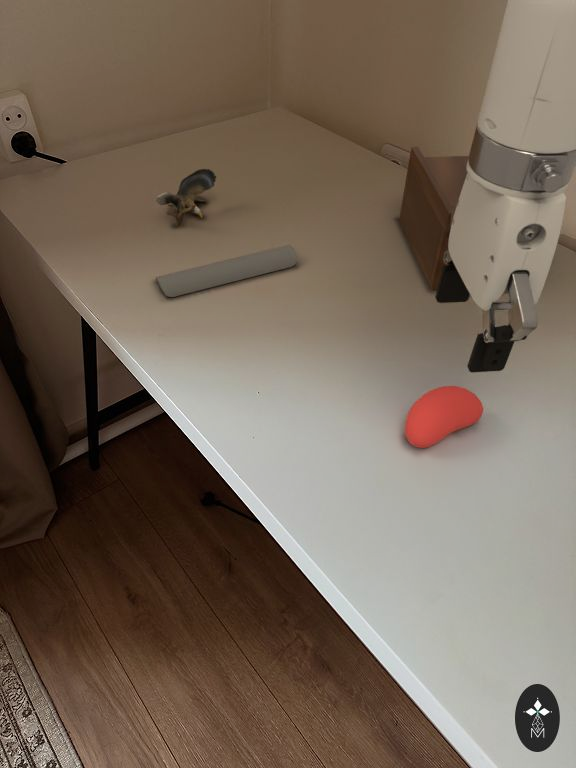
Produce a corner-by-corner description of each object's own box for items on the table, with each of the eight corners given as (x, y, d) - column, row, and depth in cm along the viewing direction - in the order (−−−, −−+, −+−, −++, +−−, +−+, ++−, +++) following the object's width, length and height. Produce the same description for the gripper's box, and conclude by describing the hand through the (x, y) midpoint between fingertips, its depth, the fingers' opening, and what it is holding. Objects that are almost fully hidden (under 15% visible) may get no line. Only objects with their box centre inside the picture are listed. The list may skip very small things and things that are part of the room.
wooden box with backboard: (473, 216, 99) (492, 144, 91) (516, 285, 87) (542, 209, 79) (398, 219, 98) (411, 146, 90) (431, 290, 86) (449, 213, 77)
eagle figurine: (212, 226, 93) (228, 186, 98) (180, 189, 89) (199, 150, 94) (175, 241, 97) (192, 202, 102) (143, 207, 93) (162, 168, 98)
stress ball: (391, 420, 71) (390, 405, 65) (463, 381, 71) (468, 364, 65) (415, 460, 69) (416, 449, 63) (488, 421, 69) (496, 407, 63)
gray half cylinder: (299, 265, 89) (299, 254, 87) (164, 300, 83) (162, 289, 81) (286, 249, 91) (286, 239, 90) (154, 282, 85) (152, 271, 84)
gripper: (628, 215, 41) (542, 398, 53) (525, 107, 53) (475, 276, 65) (517, 219, 40) (456, 403, 52) (439, 108, 52) (404, 279, 64)
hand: (467, 333), depth 59 cm, fingers open, 9 cm apart
